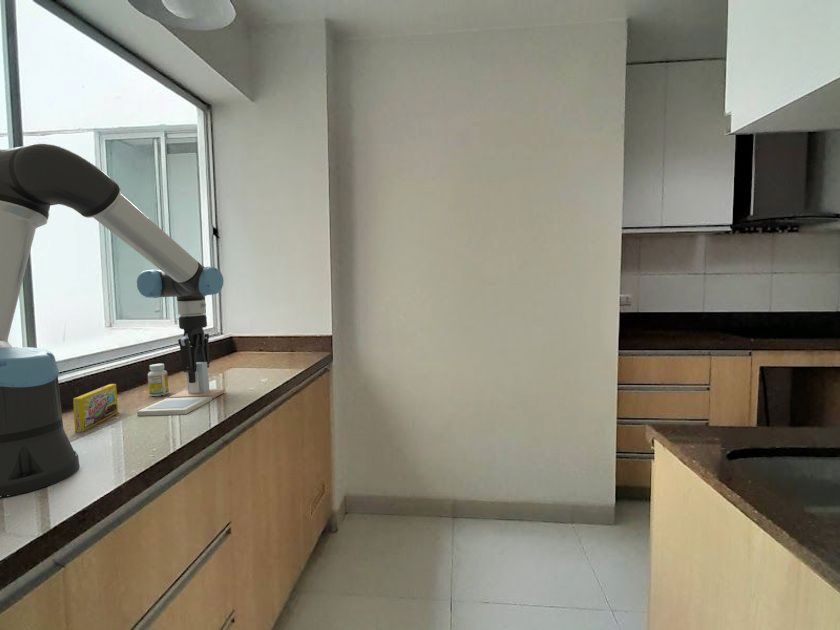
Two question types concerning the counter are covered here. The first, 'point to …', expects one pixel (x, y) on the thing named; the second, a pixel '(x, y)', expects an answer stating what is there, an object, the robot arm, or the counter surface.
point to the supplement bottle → (158, 380)
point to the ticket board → (175, 405)
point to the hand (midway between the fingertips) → (198, 391)
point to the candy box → (95, 407)
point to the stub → (201, 384)
